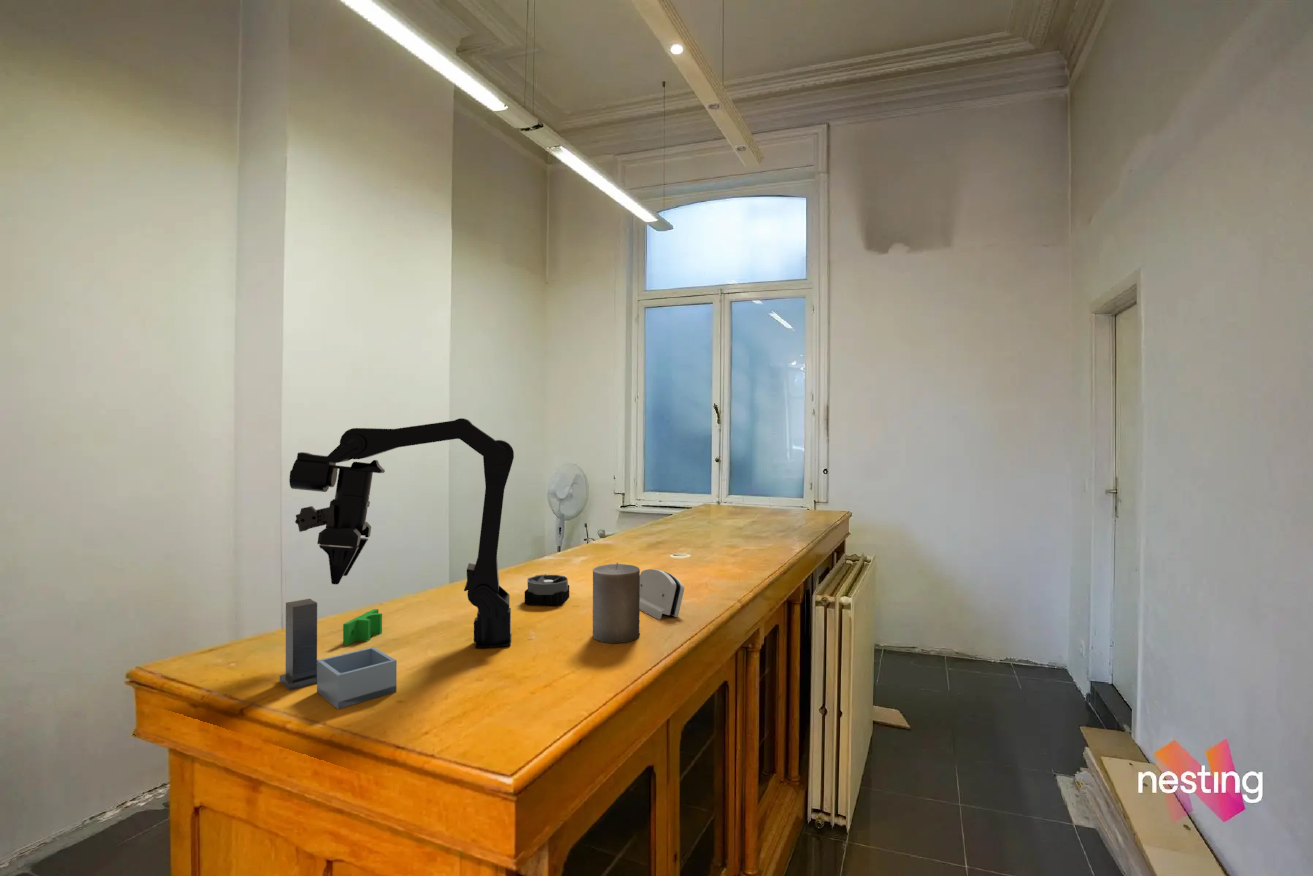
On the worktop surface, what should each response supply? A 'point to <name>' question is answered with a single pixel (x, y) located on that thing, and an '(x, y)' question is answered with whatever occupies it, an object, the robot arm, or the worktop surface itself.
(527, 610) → the worktop surface
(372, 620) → the pipe clamp
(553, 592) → the cpu cooler
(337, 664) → the box
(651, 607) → the napkin holder
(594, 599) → the pillar candle
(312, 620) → the dark square pedestal
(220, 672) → the worktop surface
